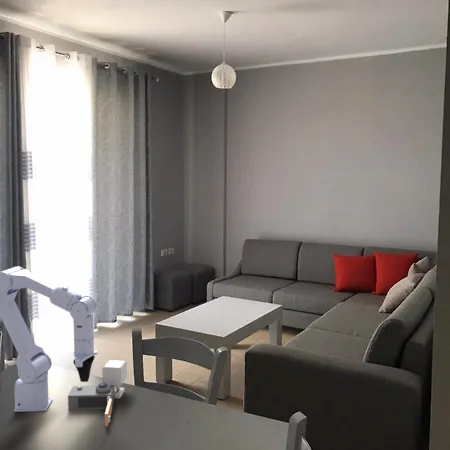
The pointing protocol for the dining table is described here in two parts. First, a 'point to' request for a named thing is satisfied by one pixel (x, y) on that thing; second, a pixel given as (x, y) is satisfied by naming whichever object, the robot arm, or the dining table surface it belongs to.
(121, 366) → the security camera
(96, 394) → the housing
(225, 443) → the dining table surface
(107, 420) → the hatch
